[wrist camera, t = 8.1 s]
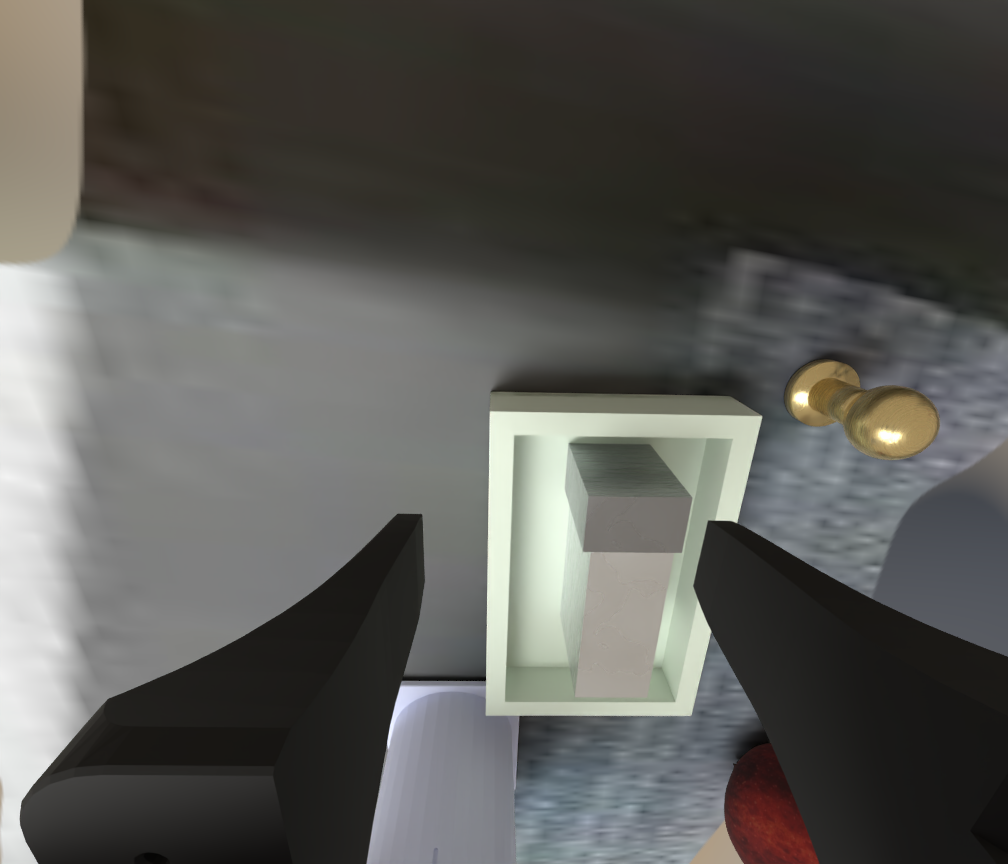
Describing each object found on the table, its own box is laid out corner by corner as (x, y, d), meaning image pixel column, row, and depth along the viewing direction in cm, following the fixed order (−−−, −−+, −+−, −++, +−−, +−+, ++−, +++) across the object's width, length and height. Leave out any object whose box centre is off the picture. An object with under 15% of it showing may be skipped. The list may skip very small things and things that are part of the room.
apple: (802, 794, 32) (896, 960, 25) (691, 793, 32) (751, 960, 24) (835, 718, 29) (952, 877, 22) (714, 715, 29) (790, 876, 22)
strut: (624, 614, 25) (653, 697, 21) (554, 614, 25) (568, 697, 20) (650, 444, 22) (692, 497, 17) (568, 443, 22) (588, 496, 17)
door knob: (839, 422, 22) (946, 475, 17) (777, 421, 22) (865, 474, 17) (858, 359, 21) (979, 395, 16) (793, 358, 21) (892, 394, 16)
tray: (672, 671, 28) (691, 715, 25) (486, 671, 27) (485, 715, 25) (729, 395, 21) (762, 416, 19) (490, 391, 21) (489, 411, 19)
